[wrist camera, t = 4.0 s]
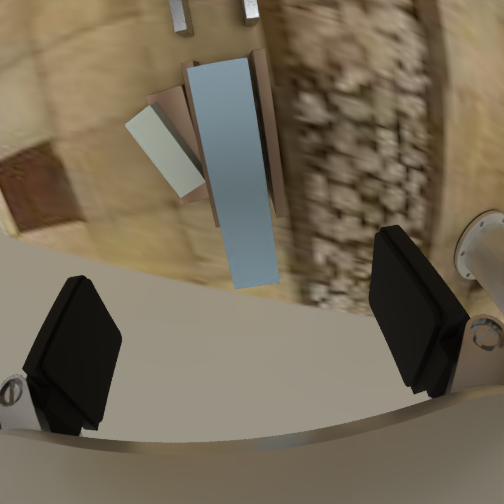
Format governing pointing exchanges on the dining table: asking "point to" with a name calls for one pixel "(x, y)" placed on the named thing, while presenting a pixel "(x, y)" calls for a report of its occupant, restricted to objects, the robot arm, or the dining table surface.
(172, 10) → the grey rack
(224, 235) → the tall sheet
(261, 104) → the walnut rack
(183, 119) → the offcut lower
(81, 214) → the dining table surface
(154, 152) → the offcut upper
